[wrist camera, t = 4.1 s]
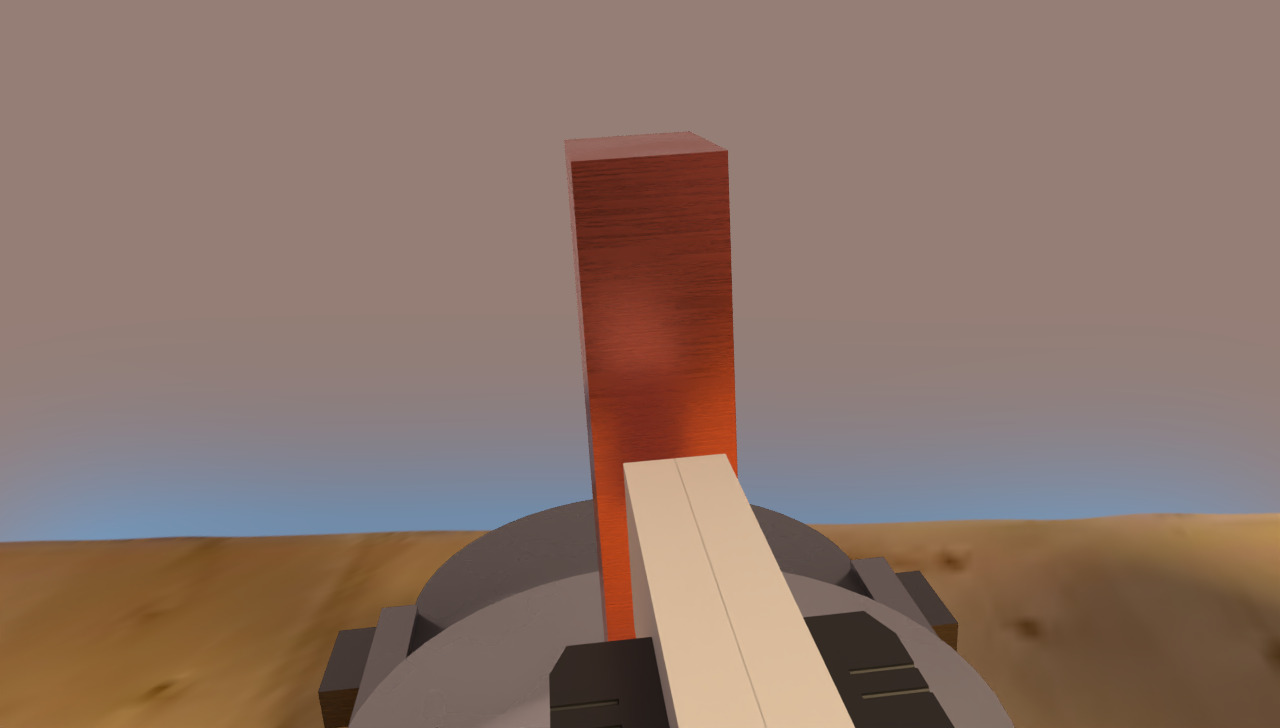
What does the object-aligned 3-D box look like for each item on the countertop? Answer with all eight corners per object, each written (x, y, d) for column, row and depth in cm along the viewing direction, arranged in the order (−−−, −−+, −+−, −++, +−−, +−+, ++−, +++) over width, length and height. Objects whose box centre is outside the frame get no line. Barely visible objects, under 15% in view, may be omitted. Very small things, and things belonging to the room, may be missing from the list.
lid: (885, 565, 28) (894, 100, 24) (1201, 1032, 15) (1339, 156, 11) (386, 617, 27) (311, 139, 23) (234, 1170, 13) (-7, 254, 10)
